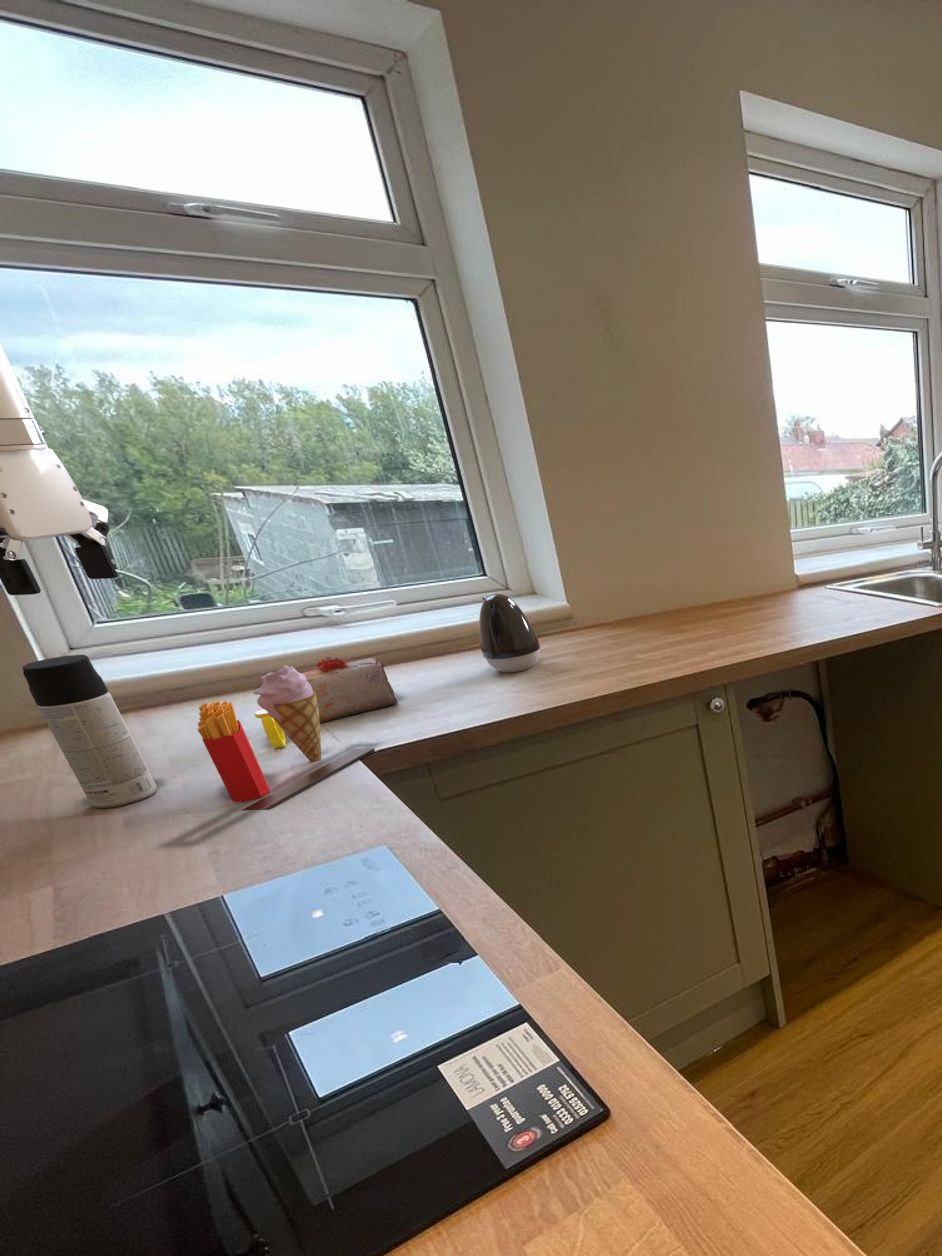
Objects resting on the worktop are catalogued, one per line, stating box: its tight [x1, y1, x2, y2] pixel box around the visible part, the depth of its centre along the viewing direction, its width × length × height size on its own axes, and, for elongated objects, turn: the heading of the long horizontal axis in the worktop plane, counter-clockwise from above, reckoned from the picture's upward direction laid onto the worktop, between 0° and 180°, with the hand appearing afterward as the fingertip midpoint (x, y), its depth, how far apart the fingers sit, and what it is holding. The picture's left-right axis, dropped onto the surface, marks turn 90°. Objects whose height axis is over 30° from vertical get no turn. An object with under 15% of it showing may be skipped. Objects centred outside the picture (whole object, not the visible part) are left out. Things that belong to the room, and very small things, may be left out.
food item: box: [300, 656, 399, 724], centre depth 142 cm, size 14×8×10 cm, turn 138°
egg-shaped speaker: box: [478, 593, 541, 673], centre depth 161 cm, size 10×10×15 cm
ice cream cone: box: [253, 664, 322, 762], centre depth 120 cm, size 7×6×15 cm
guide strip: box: [240, 747, 376, 812], centre depth 112 cm, size 3×30×1 cm, turn 179°
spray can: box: [22, 654, 158, 809], centre depth 109 cm, size 7×7×20 cm
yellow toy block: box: [254, 708, 287, 749], centre depth 129 cm, size 6×3×6 cm, turn 37°
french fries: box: [197, 700, 271, 803], centre depth 110 cm, size 9×4×13 cm, turn 44°
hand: (66, 585), depth 100 cm, fingers open, 9 cm apart
